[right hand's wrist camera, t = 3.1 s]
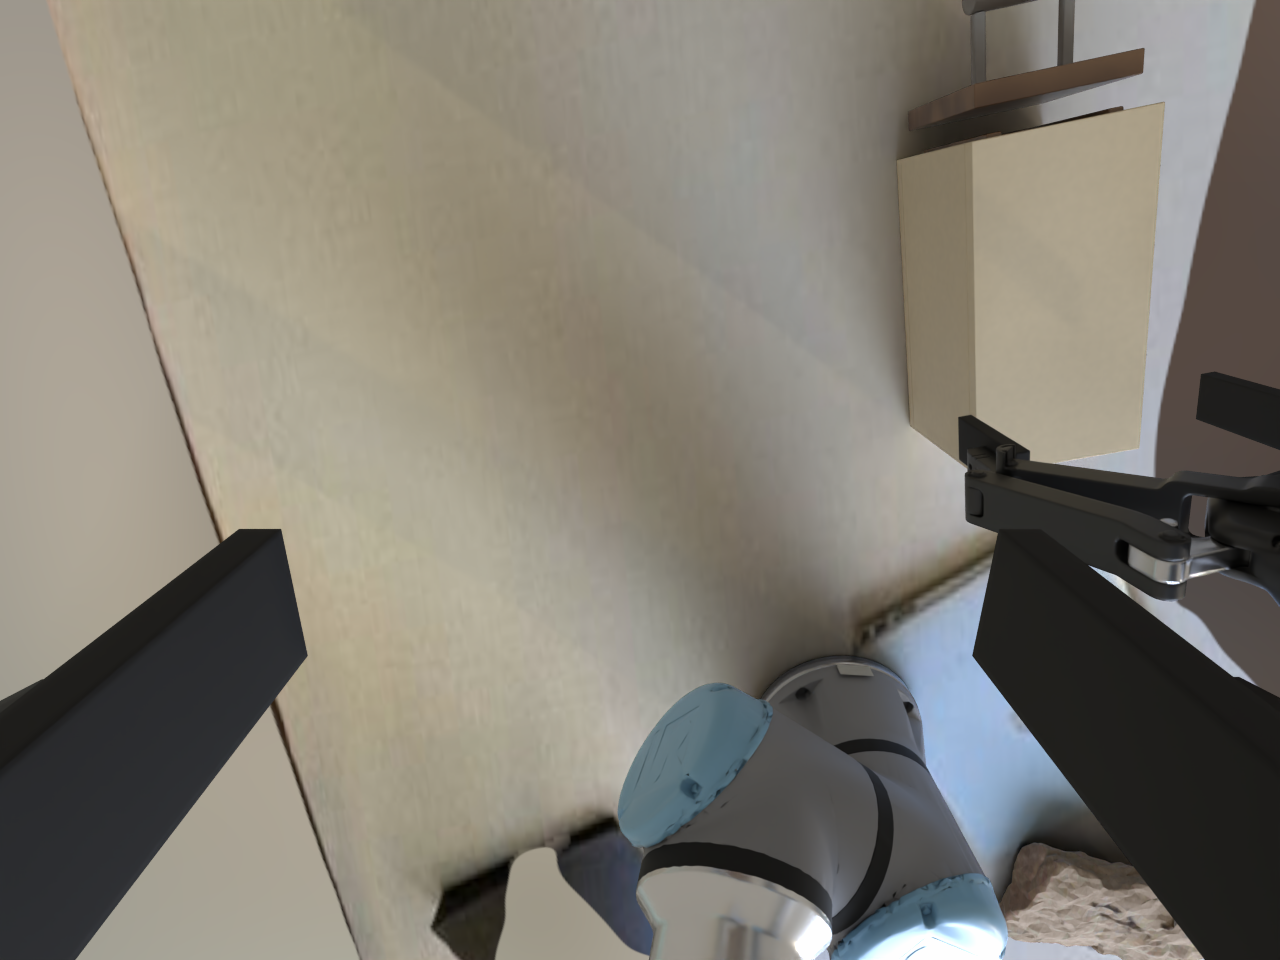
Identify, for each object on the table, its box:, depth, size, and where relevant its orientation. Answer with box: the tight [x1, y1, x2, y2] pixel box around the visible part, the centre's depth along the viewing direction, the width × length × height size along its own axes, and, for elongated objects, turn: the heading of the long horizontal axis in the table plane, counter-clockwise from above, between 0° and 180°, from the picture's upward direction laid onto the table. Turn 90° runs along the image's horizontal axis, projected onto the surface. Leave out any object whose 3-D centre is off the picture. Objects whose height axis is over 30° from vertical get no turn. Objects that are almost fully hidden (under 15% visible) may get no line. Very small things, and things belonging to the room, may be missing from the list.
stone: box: [999, 842, 1203, 960], centre depth 69 cm, size 21×15×6 cm
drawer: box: [908, 0, 1144, 153], centre depth 42 cm, size 24×9×10 cm, turn 11°
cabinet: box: [897, 102, 1165, 469], centre depth 45 cm, size 20×10×11 cm, turn 11°
